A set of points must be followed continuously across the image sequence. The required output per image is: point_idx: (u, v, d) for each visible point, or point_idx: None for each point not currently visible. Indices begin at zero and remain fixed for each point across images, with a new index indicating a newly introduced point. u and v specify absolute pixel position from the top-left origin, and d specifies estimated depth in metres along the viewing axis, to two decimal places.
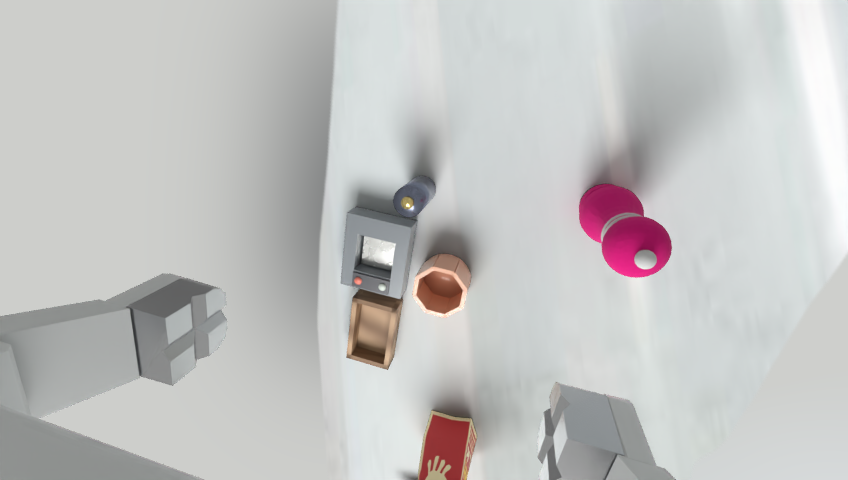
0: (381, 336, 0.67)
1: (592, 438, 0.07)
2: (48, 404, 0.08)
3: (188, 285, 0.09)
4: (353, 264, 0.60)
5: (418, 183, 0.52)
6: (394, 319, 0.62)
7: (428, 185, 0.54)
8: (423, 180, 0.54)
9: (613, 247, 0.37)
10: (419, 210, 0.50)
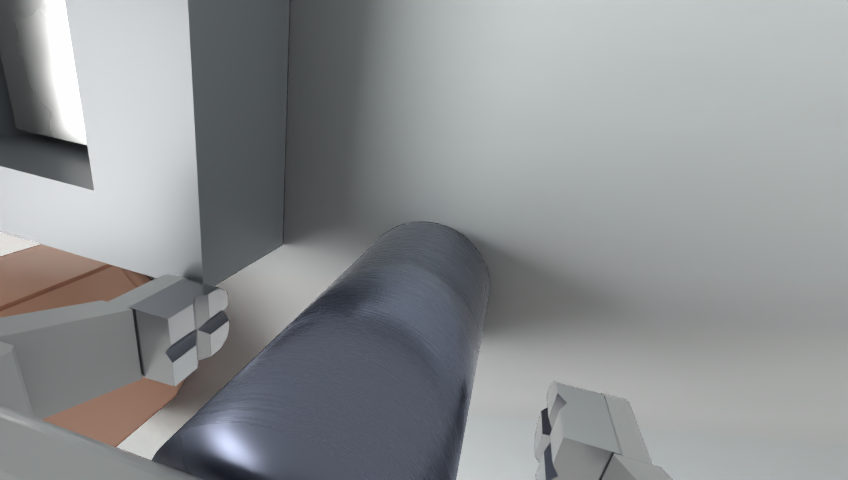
0: None
1: (588, 437, 0.07)
2: (50, 405, 0.07)
3: (190, 286, 0.09)
4: None
5: None
6: None
7: None
8: None
9: None
10: None
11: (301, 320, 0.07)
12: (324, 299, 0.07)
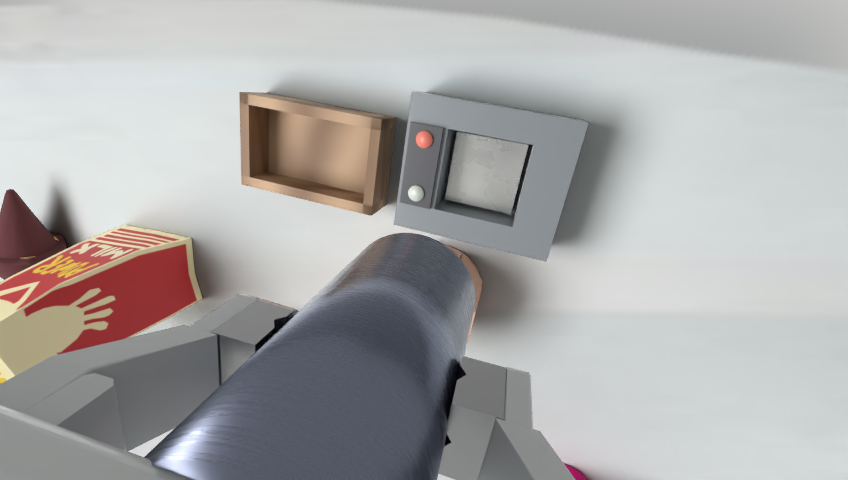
0: (303, 160, 0.34)
1: (477, 404, 0.07)
2: (136, 436, 0.07)
3: (266, 307, 0.09)
4: (460, 128, 0.27)
5: None
6: (349, 208, 0.32)
7: None
8: None
9: None
10: None
11: (273, 342, 0.07)
12: (299, 318, 0.07)
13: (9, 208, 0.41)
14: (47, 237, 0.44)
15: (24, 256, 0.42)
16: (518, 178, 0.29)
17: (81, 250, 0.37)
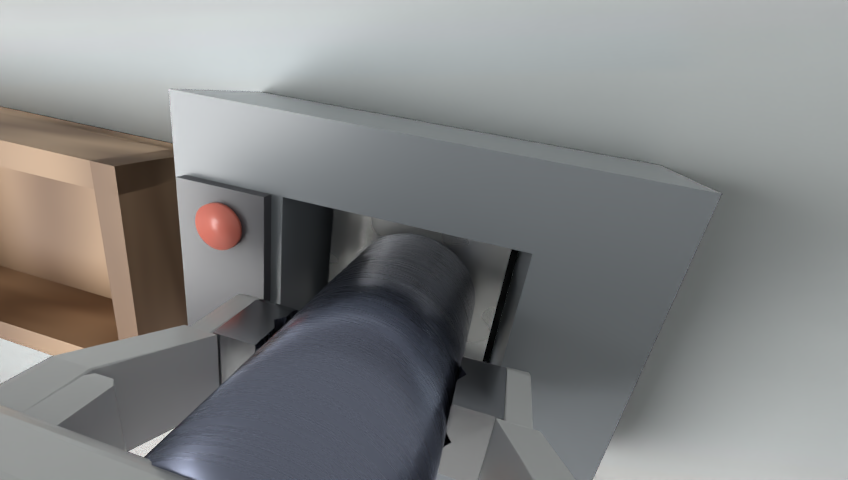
0: (32, 240, 0.16)
1: (477, 404, 0.07)
2: (136, 436, 0.07)
3: (266, 307, 0.09)
4: (316, 197, 0.09)
5: None
6: None
7: None
8: None
9: None
10: None
11: (273, 342, 0.07)
12: (299, 319, 0.07)
13: None
14: None
15: None
16: (492, 308, 0.12)
17: None
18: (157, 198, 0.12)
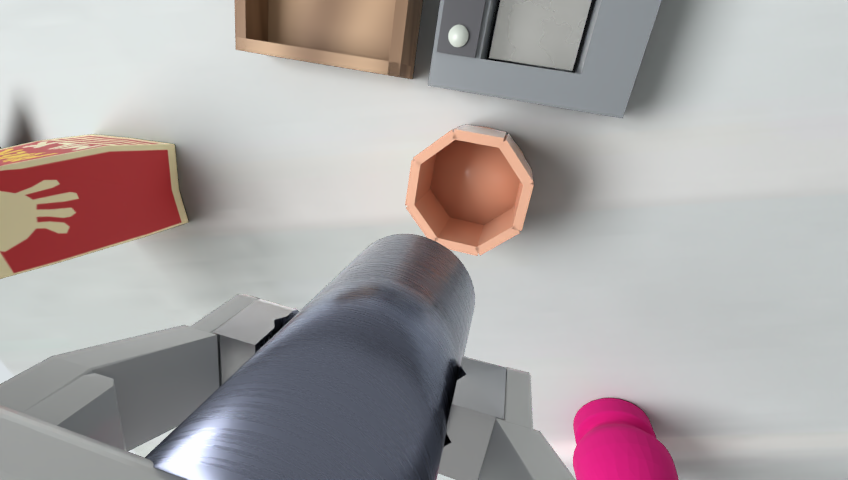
0: (311, 23, 0.28)
1: (477, 404, 0.07)
2: (136, 436, 0.07)
3: (266, 307, 0.09)
4: None
5: None
6: (371, 69, 0.26)
7: None
8: None
9: None
10: None
11: (272, 343, 0.07)
12: (298, 320, 0.07)
13: None
14: None
15: None
16: (584, 19, 0.24)
17: (37, 146, 0.30)
18: None
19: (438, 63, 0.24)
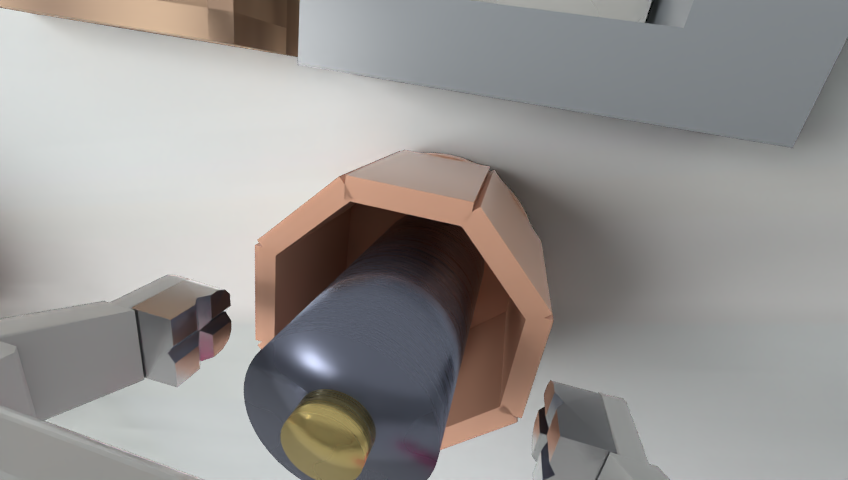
0: None
1: (585, 436, 0.07)
2: (52, 406, 0.07)
3: (192, 286, 0.09)
4: None
5: None
6: (173, 28, 0.11)
7: None
8: None
9: None
10: (298, 470, 0.08)
11: (340, 279, 0.09)
12: (355, 266, 0.10)
13: None
14: None
15: None
16: None
17: None
18: None
19: (316, 9, 0.10)
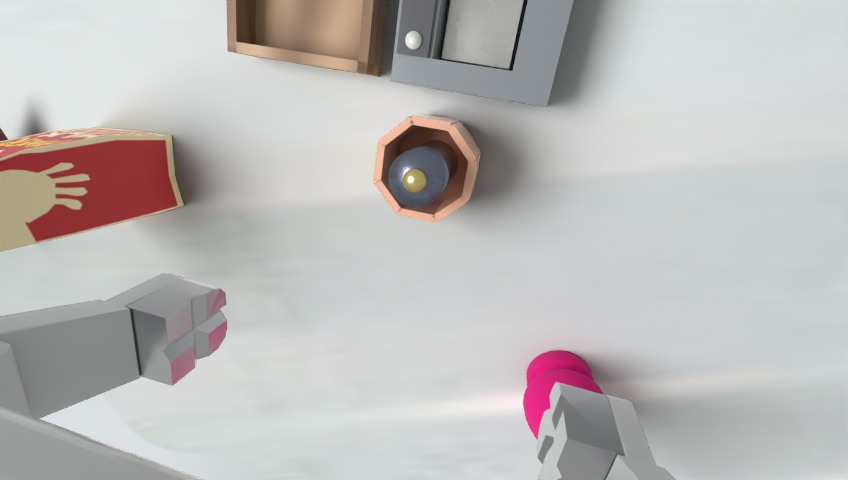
0: (292, 29, 0.33)
1: (592, 438, 0.07)
2: (47, 404, 0.08)
3: (188, 285, 0.09)
4: None
5: (448, 181, 0.30)
6: (343, 67, 0.31)
7: None
8: (452, 177, 0.32)
9: None
10: (402, 200, 0.28)
11: None
12: None
13: None
14: None
15: None
16: (516, 27, 0.29)
17: (50, 135, 0.34)
18: None
19: (398, 62, 0.30)
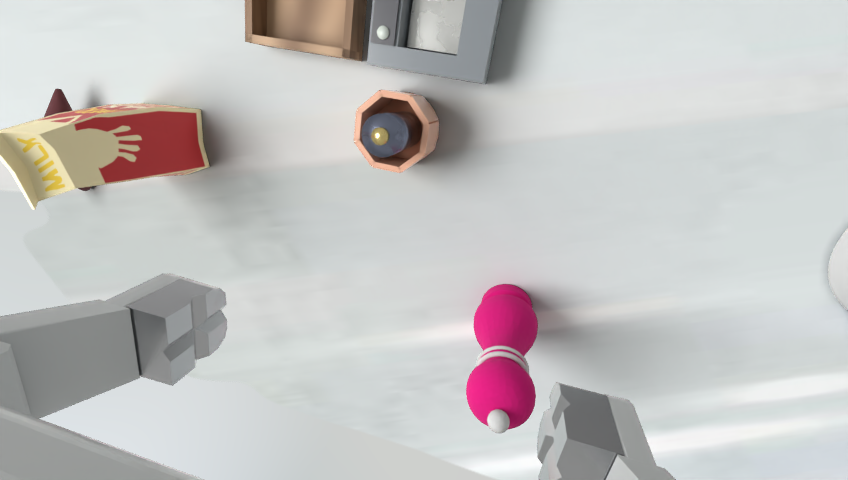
0: (294, 24, 0.43)
1: (592, 438, 0.07)
2: (47, 404, 0.08)
3: (188, 285, 0.09)
4: None
5: (409, 140, 0.39)
6: (331, 53, 0.40)
7: (408, 147, 0.41)
8: (414, 139, 0.41)
9: (506, 384, 0.32)
10: (372, 151, 0.37)
11: None
12: None
13: (56, 104, 0.49)
14: None
15: None
16: (461, 22, 0.38)
17: (111, 106, 0.45)
18: None
19: (372, 49, 0.39)
